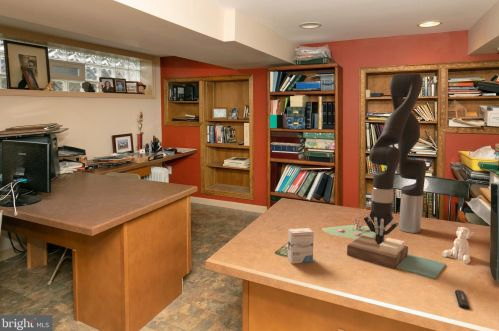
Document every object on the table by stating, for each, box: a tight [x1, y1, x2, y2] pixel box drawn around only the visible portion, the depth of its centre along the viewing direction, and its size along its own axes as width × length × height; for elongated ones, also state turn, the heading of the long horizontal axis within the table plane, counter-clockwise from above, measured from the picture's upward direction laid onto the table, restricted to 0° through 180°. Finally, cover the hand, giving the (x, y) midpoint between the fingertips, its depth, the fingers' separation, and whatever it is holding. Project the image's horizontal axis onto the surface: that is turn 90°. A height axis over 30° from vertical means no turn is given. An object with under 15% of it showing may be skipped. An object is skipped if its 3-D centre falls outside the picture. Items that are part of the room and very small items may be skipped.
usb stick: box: [454, 289, 470, 310], centre depth 101 cm, size 10×3×2 cm, turn 156°
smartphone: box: [274, 242, 288, 258], centre depth 138 cm, size 7×1×15 cm
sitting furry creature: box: [441, 226, 475, 265], centre depth 130 cm, size 10×9×12 cm
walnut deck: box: [346, 235, 409, 269], centre depth 132 cm, size 14×18×4 cm
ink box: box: [287, 227, 315, 265], centre depth 128 cm, size 8×5×12 cm, turn 100°
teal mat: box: [395, 254, 446, 280], centre depth 123 cm, size 14×13×1 cm
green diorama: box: [321, 216, 376, 240], centre depth 158 cm, size 25×21×9 cm
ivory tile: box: [379, 237, 405, 255], centre depth 128 cm, size 9×6×2 cm, turn 140°
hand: (379, 243), depth 131 cm, fingers closed
